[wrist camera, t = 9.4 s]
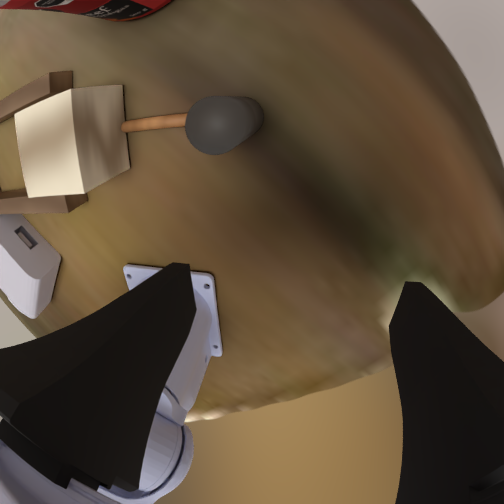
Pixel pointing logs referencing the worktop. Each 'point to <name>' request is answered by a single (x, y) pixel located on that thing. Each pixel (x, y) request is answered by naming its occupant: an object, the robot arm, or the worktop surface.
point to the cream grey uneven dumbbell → (113, 135)
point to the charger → (26, 265)
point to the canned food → (91, 7)
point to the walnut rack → (9, 107)
